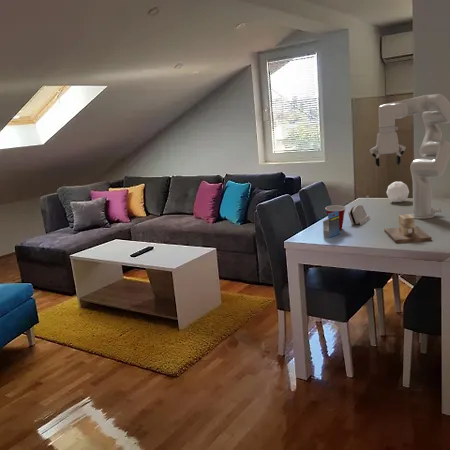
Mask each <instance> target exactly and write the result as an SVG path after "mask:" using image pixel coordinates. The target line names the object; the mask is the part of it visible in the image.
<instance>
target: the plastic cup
mask: <svg viewBox="0 0 450 450" xmlns="http://www.w3.org/2000/svg"><path fill="white" fill-rule="evenodd" d="M324 209H325V211H326V214H327V219H329V217H328V214H330V213H333V212H336V211H339V231H341V230H343V223H344V219H345V217H344V216H345V212H346V209H347V207H346V206H345V205H337V204H335V205H333V204H332V205H328V206H326V207H325V208H324ZM332 216H335V214H333V215H332Z"/></svg>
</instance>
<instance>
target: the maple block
mask: <svg viewBox="0 0 450 450" xmlns="http://www.w3.org/2000/svg"><path fill="white" fill-rule="evenodd" d="M410 214H411V213H408V214H399V215H398V228H399V231H400V232H401V233H402V234H403V235H408V228H412V235H413V234H415V230H414V226H415V218H414V217H413V216H411V215H410Z"/></svg>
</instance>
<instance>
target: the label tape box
mask: <svg viewBox="0 0 450 450" xmlns="http://www.w3.org/2000/svg"><path fill="white" fill-rule="evenodd" d="M333 214H335V216H332V215H333ZM328 217H329V219H328ZM322 231H323V238H329V239H330V238H333V237H334V236H337V235H339V234H340V230H339V211H336V212H333V213H330V214H328V215H327V219H325V220H323V221H322Z"/></svg>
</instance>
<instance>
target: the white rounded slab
mask: <svg viewBox="0 0 450 450" xmlns="http://www.w3.org/2000/svg"><path fill="white" fill-rule="evenodd" d="M348 217H349V221H350V222H351V223H350V224H351V226H354V225H358V224H359V226H362V225H364V224H365V223H367V222H368V221H369V220H370V219H371V216H370V215H369V214H367V212H366V209H365V208H364V205H362V204H361V205H355V206H352V207H350V209H349V210H348ZM367 220H368V221H367Z"/></svg>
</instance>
